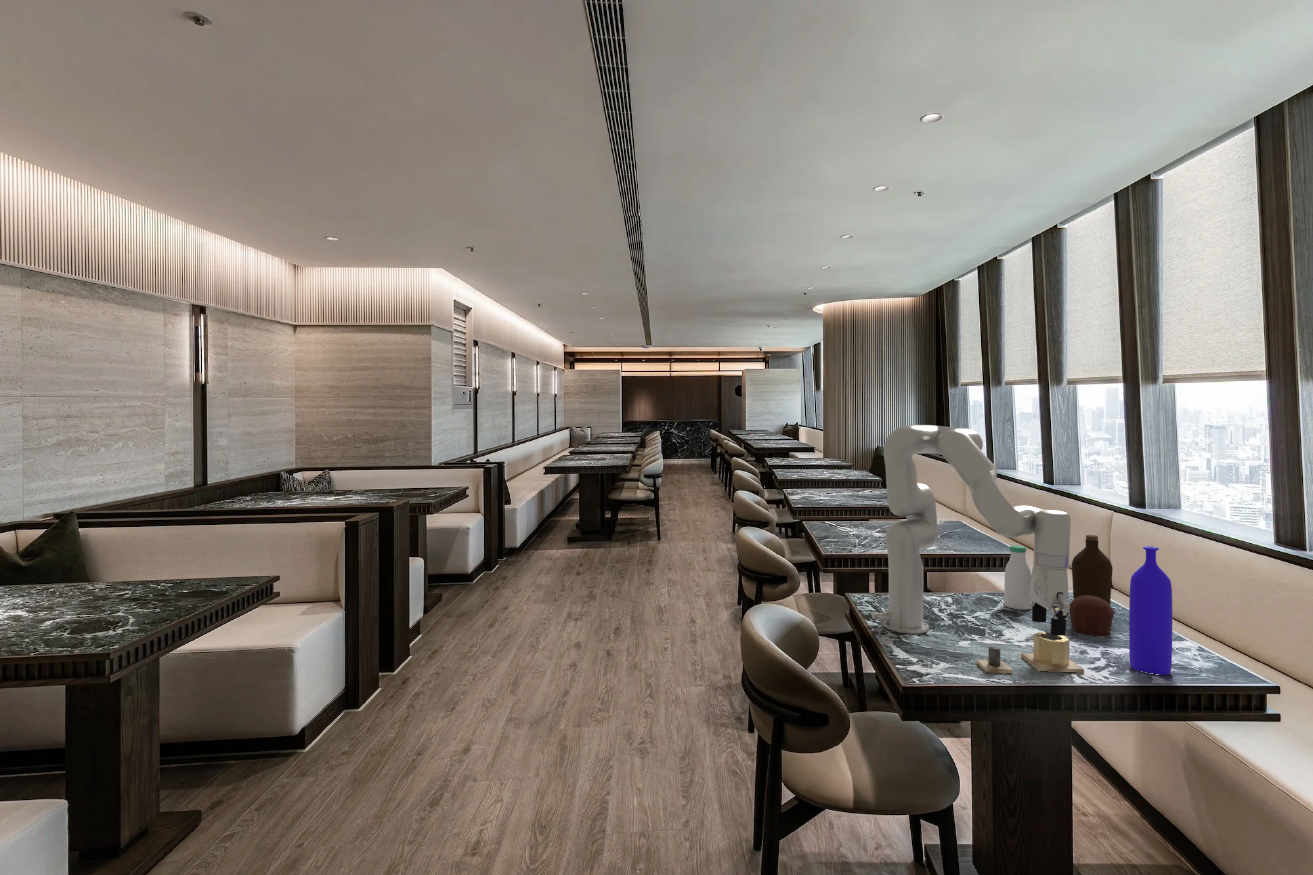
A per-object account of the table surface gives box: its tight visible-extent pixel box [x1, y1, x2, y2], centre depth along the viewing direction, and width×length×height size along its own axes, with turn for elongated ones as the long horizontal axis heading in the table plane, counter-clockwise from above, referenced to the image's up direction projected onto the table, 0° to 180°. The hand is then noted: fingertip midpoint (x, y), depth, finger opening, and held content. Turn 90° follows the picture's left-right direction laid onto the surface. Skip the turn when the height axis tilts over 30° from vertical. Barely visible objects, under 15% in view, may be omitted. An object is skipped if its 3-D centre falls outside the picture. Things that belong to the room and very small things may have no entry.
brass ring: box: [1033, 631, 1070, 666], centre depth 160 cm, size 7×7×6 cm
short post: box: [976, 646, 1014, 674], centre depth 157 cm, size 6×6×5 cm
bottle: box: [1128, 545, 1173, 676], centre depth 156 cm, size 8×8×30 cm
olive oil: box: [1071, 534, 1114, 606], centre depth 201 cm, size 11×11×25 cm
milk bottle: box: [1004, 545, 1033, 611], centre depth 210 cm, size 8×8×20 cm
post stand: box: [1020, 630, 1085, 674], centre depth 159 cm, size 10×10×8 cm
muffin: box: [1069, 595, 1116, 637], centre depth 185 cm, size 12×11×10 cm
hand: (1048, 628), depth 160 cm, fingers open, 9 cm apart
